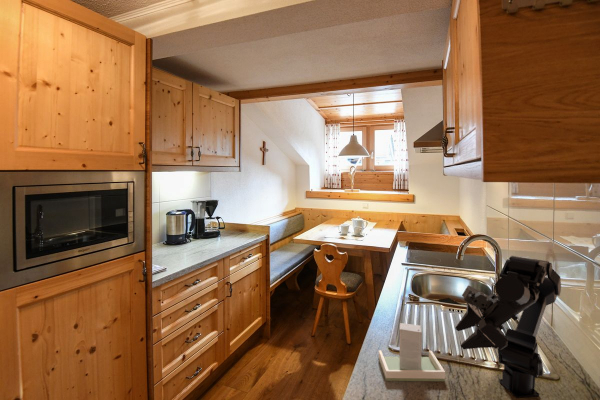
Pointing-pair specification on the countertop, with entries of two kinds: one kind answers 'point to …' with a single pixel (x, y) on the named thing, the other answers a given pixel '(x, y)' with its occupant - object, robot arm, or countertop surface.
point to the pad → (428, 371)
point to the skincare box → (410, 346)
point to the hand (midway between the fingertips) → (459, 338)
